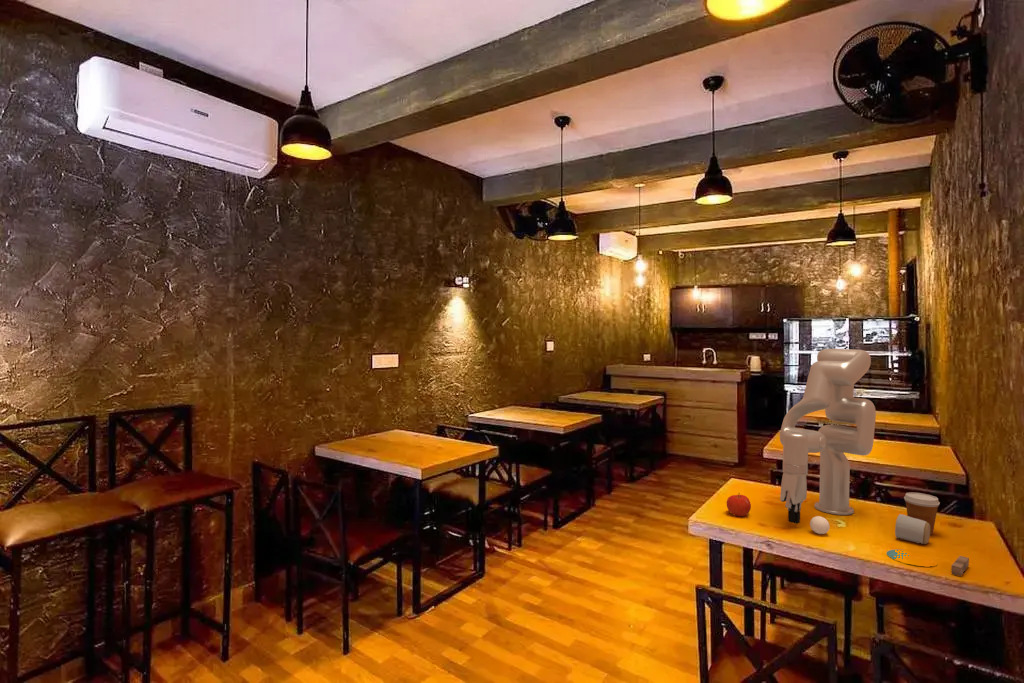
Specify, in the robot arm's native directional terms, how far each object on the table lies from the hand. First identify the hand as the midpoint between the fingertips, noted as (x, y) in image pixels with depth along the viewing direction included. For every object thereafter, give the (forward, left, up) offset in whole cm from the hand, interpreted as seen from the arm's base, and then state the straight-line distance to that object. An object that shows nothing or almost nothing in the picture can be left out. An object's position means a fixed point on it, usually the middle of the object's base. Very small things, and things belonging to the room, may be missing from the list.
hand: (794, 522), depth 184 cm
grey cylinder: (-18, +29, -2) cm, 34 cm away
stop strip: (-1, +44, -2) cm, 44 cm away
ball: (0, +8, +1) cm, 8 cm away
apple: (+3, -18, -2) cm, 18 cm away
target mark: (0, +33, -2) cm, 33 cm away
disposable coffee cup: (-28, +29, -2) cm, 40 cm away
